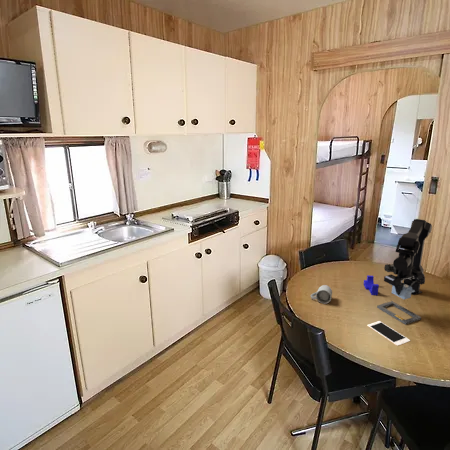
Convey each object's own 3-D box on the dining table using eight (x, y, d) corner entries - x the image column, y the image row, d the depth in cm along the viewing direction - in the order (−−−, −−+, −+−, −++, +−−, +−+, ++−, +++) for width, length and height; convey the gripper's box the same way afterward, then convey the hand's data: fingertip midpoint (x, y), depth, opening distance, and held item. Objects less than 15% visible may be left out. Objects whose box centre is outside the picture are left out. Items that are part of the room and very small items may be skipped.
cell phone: (397, 346, 131) (397, 345, 131) (366, 326, 146) (366, 324, 145) (410, 341, 134) (410, 340, 134) (379, 321, 148) (379, 320, 148)
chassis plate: (391, 303, 163) (392, 300, 162) (420, 319, 149) (421, 316, 148) (377, 307, 159) (377, 305, 159) (405, 324, 145) (405, 322, 145)
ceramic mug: (332, 297, 170) (332, 284, 168) (330, 305, 163) (331, 291, 161) (311, 294, 174) (312, 281, 172) (309, 301, 167) (310, 288, 165)
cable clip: (363, 284, 183) (364, 275, 181) (371, 285, 182) (372, 275, 180) (368, 295, 172) (369, 285, 170) (377, 295, 171) (378, 285, 169)
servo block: (394, 289, 156) (396, 278, 155) (413, 299, 147) (415, 287, 146) (388, 291, 155) (390, 280, 153) (407, 301, 146) (409, 289, 144)
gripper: (404, 253, 157) (400, 282, 161) (376, 260, 150) (372, 290, 155) (426, 261, 147) (421, 292, 151) (396, 269, 140) (392, 300, 145)
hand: (401, 293), depth 151 cm, fingers closed on servo block, 4 cm apart
